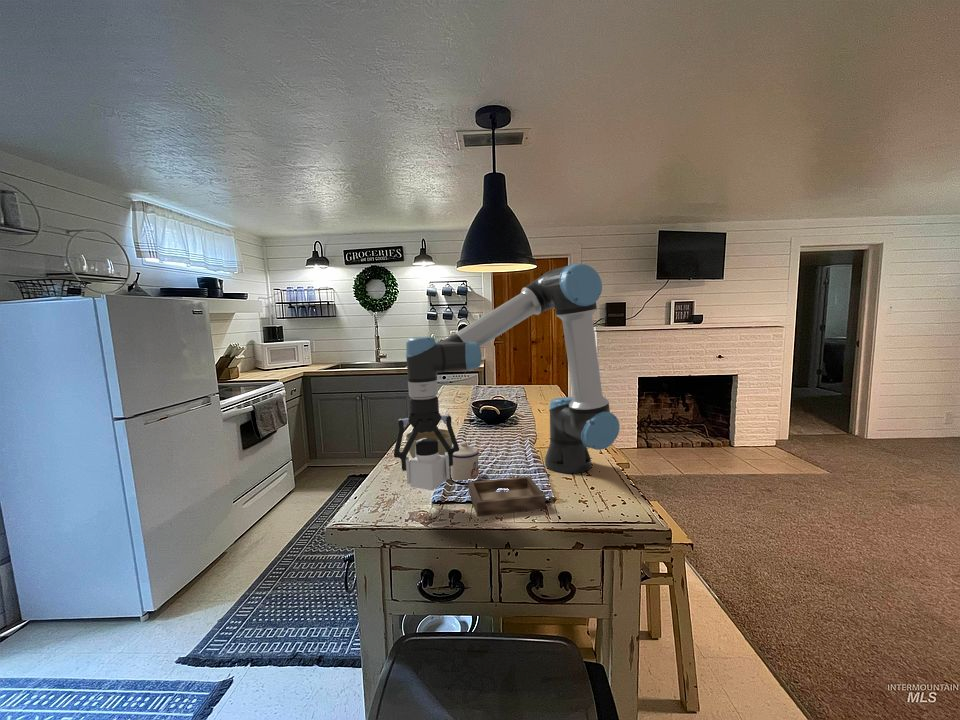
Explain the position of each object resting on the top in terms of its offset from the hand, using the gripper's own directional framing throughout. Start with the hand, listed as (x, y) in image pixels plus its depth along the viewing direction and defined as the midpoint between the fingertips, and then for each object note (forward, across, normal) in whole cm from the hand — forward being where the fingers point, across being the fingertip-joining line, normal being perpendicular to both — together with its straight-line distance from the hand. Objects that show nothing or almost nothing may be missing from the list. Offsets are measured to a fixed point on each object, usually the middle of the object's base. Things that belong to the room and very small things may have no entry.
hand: (428, 479), depth 111 cm
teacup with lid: (+8, +12, +19) cm, 24 cm away
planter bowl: (+8, +2, +33) cm, 34 cm away
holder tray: (+8, +20, -1) cm, 22 cm away
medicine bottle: (+1, 0, 0) cm, 1 cm away
